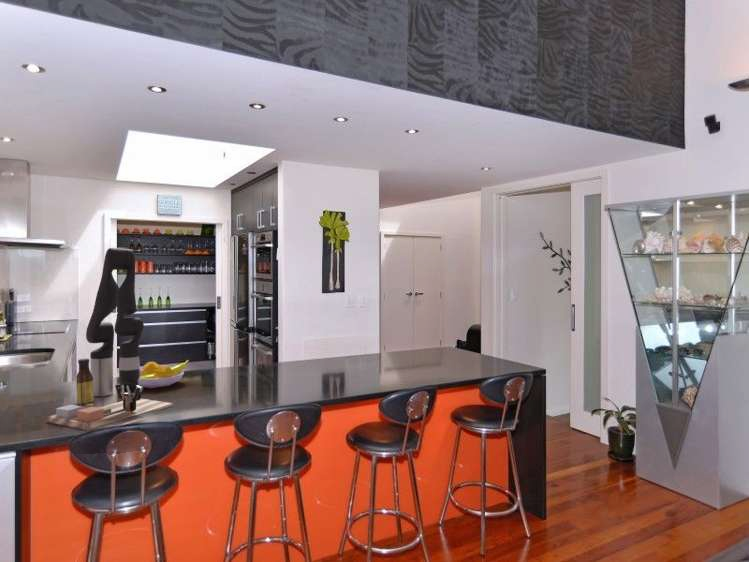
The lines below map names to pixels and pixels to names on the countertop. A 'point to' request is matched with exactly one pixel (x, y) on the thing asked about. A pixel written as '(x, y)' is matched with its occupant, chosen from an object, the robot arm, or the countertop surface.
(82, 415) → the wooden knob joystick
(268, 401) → the countertop surface
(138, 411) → the wooden backboard
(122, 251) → the robot arm
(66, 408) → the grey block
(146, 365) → the fruit bowl
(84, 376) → the sauce bottle
